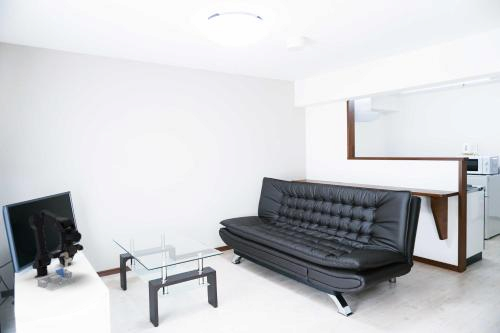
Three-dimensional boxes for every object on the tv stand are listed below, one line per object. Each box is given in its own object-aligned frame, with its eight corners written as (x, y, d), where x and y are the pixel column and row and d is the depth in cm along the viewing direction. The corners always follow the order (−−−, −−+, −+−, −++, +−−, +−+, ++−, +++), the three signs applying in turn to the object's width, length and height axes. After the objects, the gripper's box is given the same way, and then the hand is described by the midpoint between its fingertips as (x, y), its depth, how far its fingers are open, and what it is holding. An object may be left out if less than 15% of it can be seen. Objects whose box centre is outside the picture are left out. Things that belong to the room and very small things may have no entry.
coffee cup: (75, 262, 236) (74, 242, 235) (69, 267, 227) (67, 246, 226) (62, 263, 236) (61, 242, 234) (55, 268, 227) (54, 246, 225)
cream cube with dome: (58, 264, 205) (57, 257, 204) (64, 262, 208) (64, 255, 208) (67, 267, 200) (66, 260, 200) (73, 265, 203) (72, 258, 203)
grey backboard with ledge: (37, 287, 198) (37, 276, 197) (66, 276, 213) (65, 266, 213) (51, 292, 191) (51, 281, 191) (80, 280, 206) (79, 270, 206)
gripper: (58, 246, 190) (59, 273, 191) (88, 237, 206) (89, 262, 207) (47, 243, 195) (48, 269, 197) (77, 235, 211) (78, 259, 213)
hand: (67, 264), depth 203 cm, fingers closed on cream cube with dome, 4 cm apart
